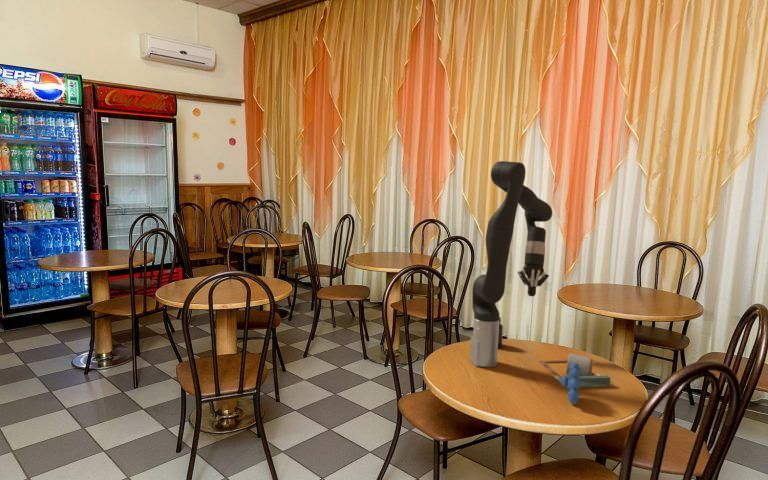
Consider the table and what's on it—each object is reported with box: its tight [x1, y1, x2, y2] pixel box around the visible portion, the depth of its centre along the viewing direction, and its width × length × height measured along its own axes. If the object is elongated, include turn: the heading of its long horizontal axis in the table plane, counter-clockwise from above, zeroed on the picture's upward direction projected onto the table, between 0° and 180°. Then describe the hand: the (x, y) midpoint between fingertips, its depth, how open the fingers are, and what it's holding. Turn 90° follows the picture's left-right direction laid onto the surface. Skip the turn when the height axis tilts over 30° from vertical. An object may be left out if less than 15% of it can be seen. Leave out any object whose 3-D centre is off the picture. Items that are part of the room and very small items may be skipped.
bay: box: [539, 359, 613, 388], centre depth 175 cm, size 23×17×3 cm
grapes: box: [558, 362, 582, 405], centre depth 153 cm, size 12×7×12 cm, turn 160°
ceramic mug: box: [565, 352, 594, 376], centre depth 174 cm, size 11×8×8 cm
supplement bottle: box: [498, 316, 504, 349], centre depth 203 cm, size 7×7×12 cm
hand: (531, 296), depth 196 cm, fingers closed
